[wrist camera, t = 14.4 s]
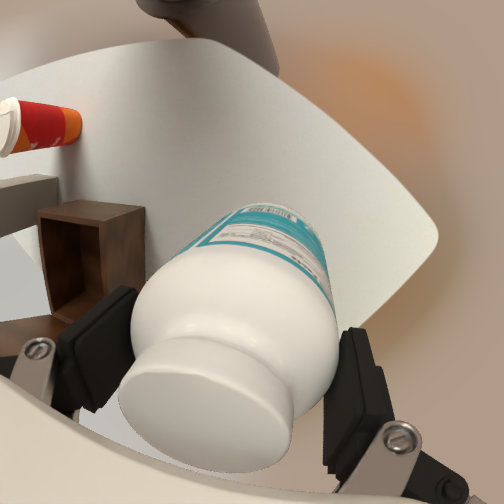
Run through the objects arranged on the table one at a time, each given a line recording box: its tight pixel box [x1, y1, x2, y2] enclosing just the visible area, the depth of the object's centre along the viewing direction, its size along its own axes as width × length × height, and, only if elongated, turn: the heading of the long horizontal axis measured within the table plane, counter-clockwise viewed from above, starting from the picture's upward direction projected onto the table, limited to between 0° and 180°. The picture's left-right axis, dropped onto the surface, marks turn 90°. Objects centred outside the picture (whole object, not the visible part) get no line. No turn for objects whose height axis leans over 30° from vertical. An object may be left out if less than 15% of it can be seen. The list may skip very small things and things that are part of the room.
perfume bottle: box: [0, 174, 58, 238], centre depth 30 cm, size 7×7×18 cm
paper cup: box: [0, 97, 82, 158], centre depth 27 cm, size 8×8×14 cm
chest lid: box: [0, 314, 71, 357], centre depth 24 cm, size 16×13×5 cm
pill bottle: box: [118, 203, 339, 473], centre depth 12 cm, size 8×7×14 cm
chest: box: [37, 200, 145, 324], centre depth 35 cm, size 16×13×9 cm
